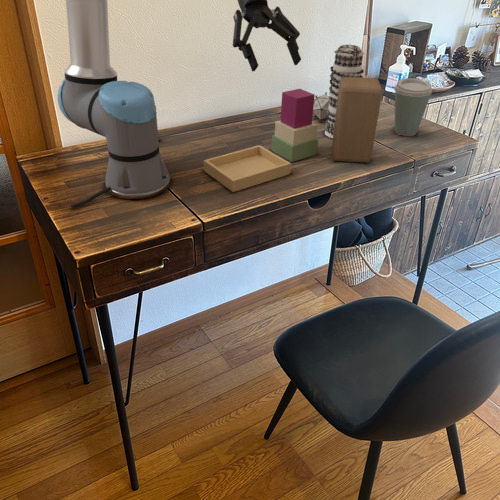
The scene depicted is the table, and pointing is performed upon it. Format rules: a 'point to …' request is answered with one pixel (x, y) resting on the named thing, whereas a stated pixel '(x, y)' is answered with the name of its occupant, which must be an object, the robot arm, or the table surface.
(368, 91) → the wooden block
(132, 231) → the table surface
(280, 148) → the sage block
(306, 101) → the mulberry block
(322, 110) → the game die
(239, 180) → the tray
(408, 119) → the disposable coffee cup
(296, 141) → the cream block
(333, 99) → the leaning tower model
